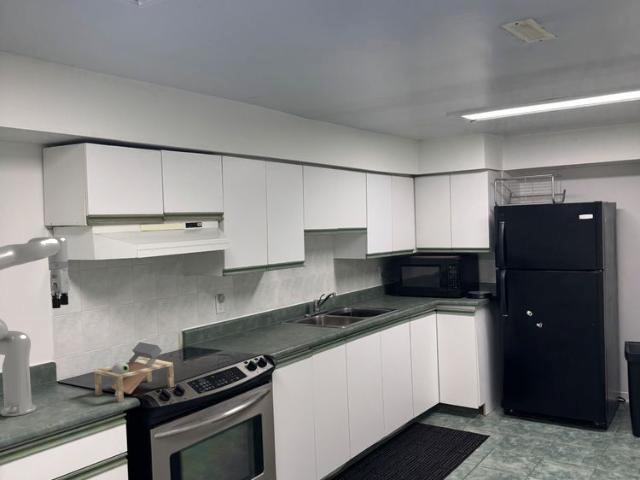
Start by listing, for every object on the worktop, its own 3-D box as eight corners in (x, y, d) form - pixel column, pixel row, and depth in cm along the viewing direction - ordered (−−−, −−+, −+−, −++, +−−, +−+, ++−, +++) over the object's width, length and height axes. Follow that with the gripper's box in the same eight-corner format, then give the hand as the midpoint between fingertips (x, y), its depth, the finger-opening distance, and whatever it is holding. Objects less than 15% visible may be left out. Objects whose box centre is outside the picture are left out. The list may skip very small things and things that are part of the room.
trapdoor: (146, 350, 267) (139, 342, 264) (164, 354, 258) (157, 345, 255) (112, 388, 254) (104, 379, 251) (130, 393, 245) (122, 384, 242)
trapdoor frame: (149, 380, 271) (148, 357, 270) (174, 386, 258) (173, 362, 258) (95, 394, 251) (94, 370, 250) (119, 402, 238) (117, 376, 238)
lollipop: (113, 390, 243) (120, 357, 252) (103, 395, 246) (110, 362, 255) (127, 396, 247) (134, 363, 256) (117, 400, 250) (124, 368, 260)
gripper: (60, 267, 240) (62, 309, 241) (74, 264, 257) (76, 303, 258) (41, 268, 240) (43, 310, 240) (56, 265, 257) (58, 304, 257)
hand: (60, 306), depth 249 cm, fingers open, 9 cm apart
